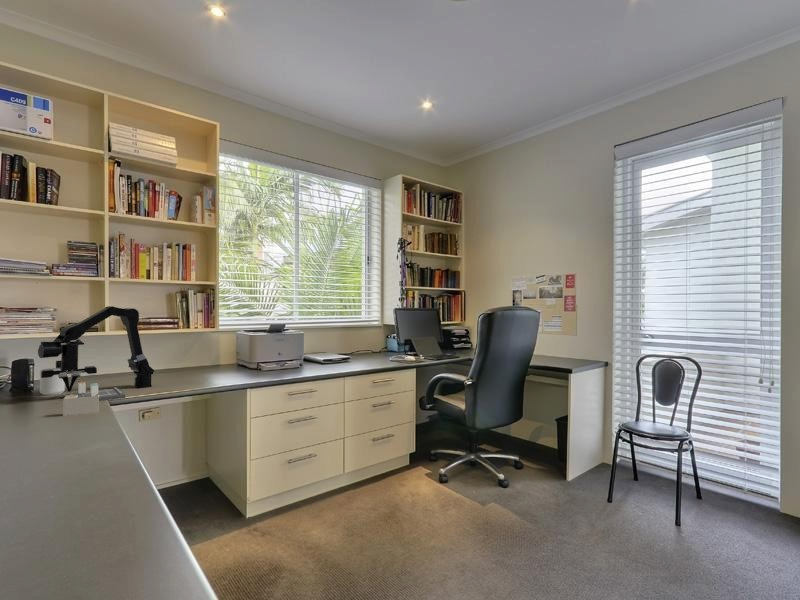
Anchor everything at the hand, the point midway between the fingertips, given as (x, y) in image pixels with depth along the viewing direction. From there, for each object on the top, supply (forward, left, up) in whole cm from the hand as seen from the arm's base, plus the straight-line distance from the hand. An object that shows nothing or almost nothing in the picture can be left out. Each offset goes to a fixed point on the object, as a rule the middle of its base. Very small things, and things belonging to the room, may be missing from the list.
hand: (69, 391), depth 179 cm
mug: (+4, -19, -3) cm, 20 cm away
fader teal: (-8, +10, -1) cm, 13 cm away
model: (-1, +34, -4) cm, 34 cm away
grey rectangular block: (-4, 0, -1) cm, 4 cm away
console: (-9, +5, -3) cm, 11 cm away
